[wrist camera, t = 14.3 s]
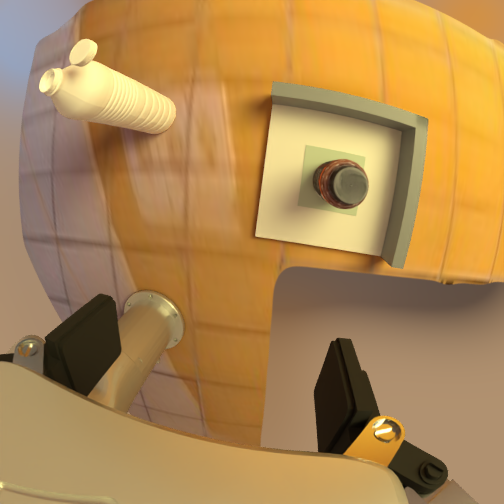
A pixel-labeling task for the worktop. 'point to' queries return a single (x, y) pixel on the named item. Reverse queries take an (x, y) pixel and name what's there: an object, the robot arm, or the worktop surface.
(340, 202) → the supplement bottle
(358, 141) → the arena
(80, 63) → the water bottle
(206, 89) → the worktop surface
